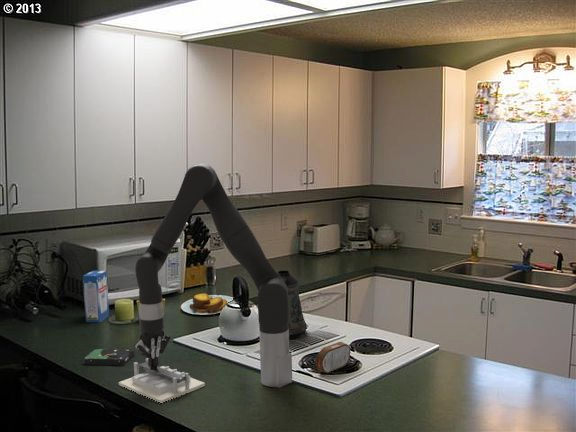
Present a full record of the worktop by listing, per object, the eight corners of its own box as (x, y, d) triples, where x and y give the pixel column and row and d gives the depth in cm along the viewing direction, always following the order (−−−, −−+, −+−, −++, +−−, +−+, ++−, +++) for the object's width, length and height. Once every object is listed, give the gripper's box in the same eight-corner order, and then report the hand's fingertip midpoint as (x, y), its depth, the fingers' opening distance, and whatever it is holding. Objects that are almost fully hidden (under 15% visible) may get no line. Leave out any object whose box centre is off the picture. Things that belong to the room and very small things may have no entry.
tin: (345, 362, 222) (345, 338, 221) (352, 364, 220) (352, 340, 219) (315, 374, 212) (314, 349, 211) (322, 377, 210) (322, 352, 208)
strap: (186, 380, 199) (185, 376, 199) (178, 383, 197) (178, 379, 197) (146, 365, 213) (146, 361, 213) (138, 367, 211) (138, 364, 211)
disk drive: (134, 356, 234) (95, 355, 236) (134, 349, 234) (95, 347, 236) (124, 367, 224) (83, 365, 226) (123, 359, 224) (82, 358, 225)
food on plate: (249, 308, 290) (248, 294, 289) (204, 321, 273) (203, 306, 272) (214, 298, 308) (213, 284, 307) (170, 309, 291) (169, 295, 290)
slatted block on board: (204, 385, 205) (204, 368, 204) (161, 403, 192) (160, 385, 191) (162, 369, 219) (161, 353, 218) (118, 385, 207) (117, 367, 206)
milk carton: (95, 315, 285) (92, 270, 282) (109, 315, 284) (106, 270, 281) (85, 322, 275) (82, 275, 272) (99, 322, 274) (96, 276, 271)
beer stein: (298, 325, 263) (297, 265, 260) (315, 340, 245) (314, 275, 242) (259, 330, 258) (257, 269, 255) (273, 345, 240) (271, 279, 236)
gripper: (140, 322, 197) (143, 377, 200) (175, 313, 207) (177, 365, 210) (126, 318, 202) (129, 371, 205) (161, 308, 212) (163, 359, 215)
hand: (153, 368), depth 207 cm, fingers closed
